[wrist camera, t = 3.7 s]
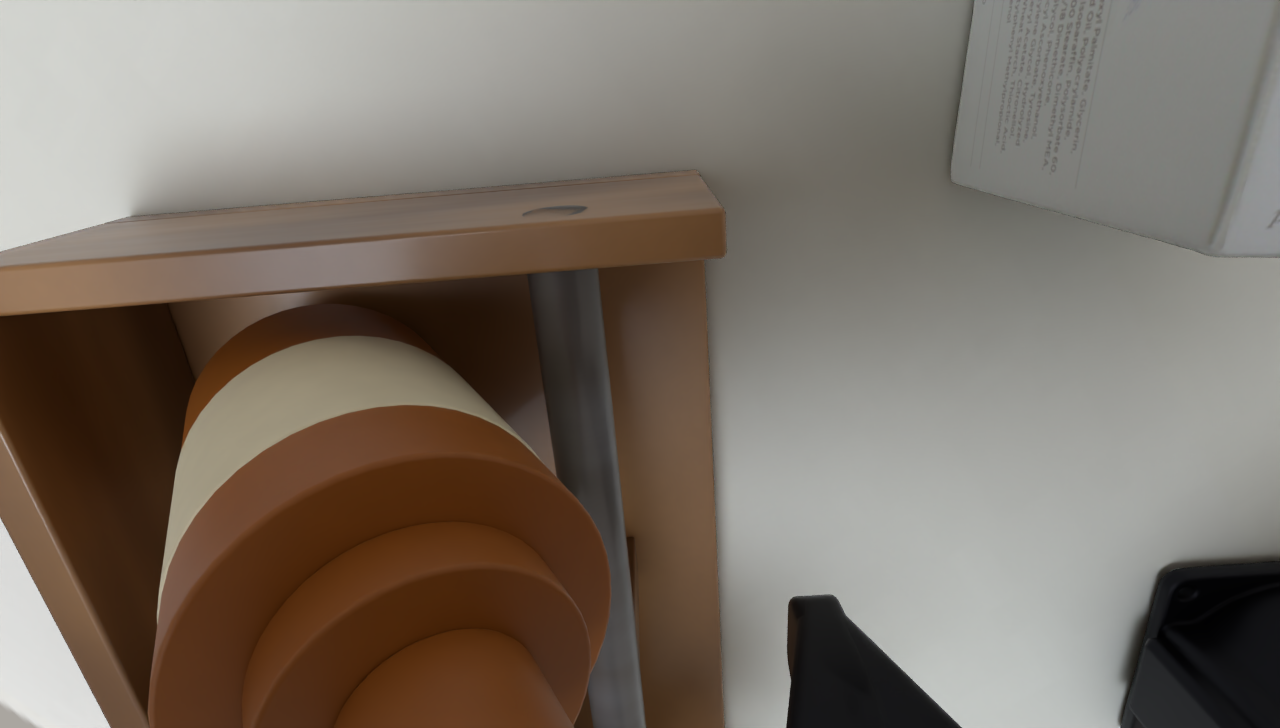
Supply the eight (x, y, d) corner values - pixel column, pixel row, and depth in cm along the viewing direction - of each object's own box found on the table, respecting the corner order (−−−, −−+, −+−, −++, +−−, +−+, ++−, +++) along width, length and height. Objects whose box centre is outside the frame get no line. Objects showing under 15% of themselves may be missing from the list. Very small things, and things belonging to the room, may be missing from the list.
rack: (697, 169, 15) (732, 214, 10) (724, 772, 22) (752, 976, 17) (127, 216, 15) (-127, 285, 10) (339, 797, 22) (255, 1006, 17)
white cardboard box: (941, 185, 15) (1204, 272, 8) (990, -154, 13) (1419, -434, 6) (1218, 178, 15) (1715, 260, 8) (1319, -161, 13) (2134, -447, 6)
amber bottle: (725, 268, 14) (668, 931, 3) (732, 492, 16) (711, 1403, 5) (259, 286, 15) (-904, 759, 4) (316, 488, 17) (-406, 1163, 6)
